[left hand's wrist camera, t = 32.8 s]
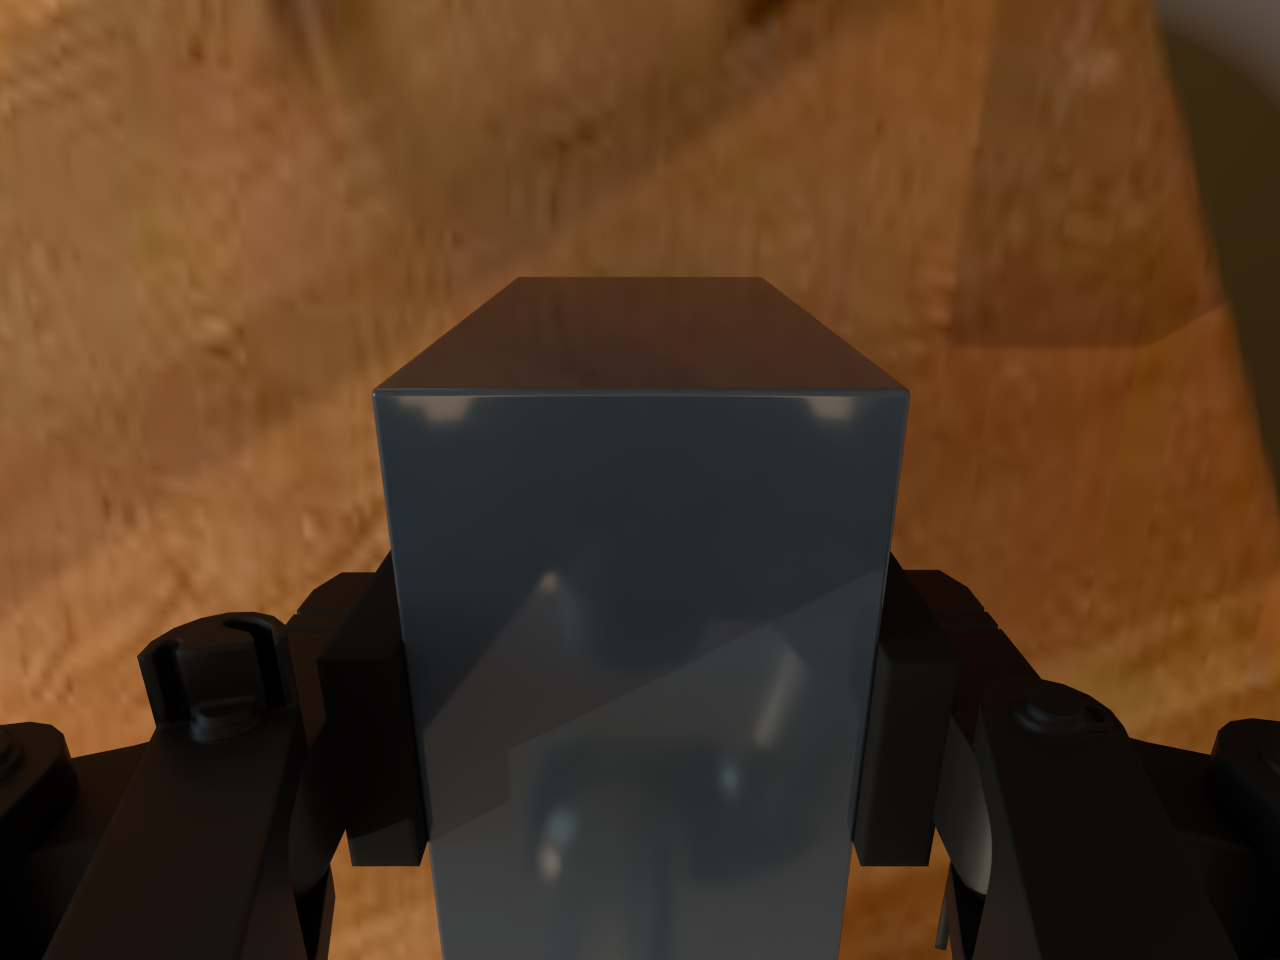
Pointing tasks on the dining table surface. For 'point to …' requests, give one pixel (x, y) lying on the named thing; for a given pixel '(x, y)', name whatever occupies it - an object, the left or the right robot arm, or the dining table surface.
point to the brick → (640, 614)
